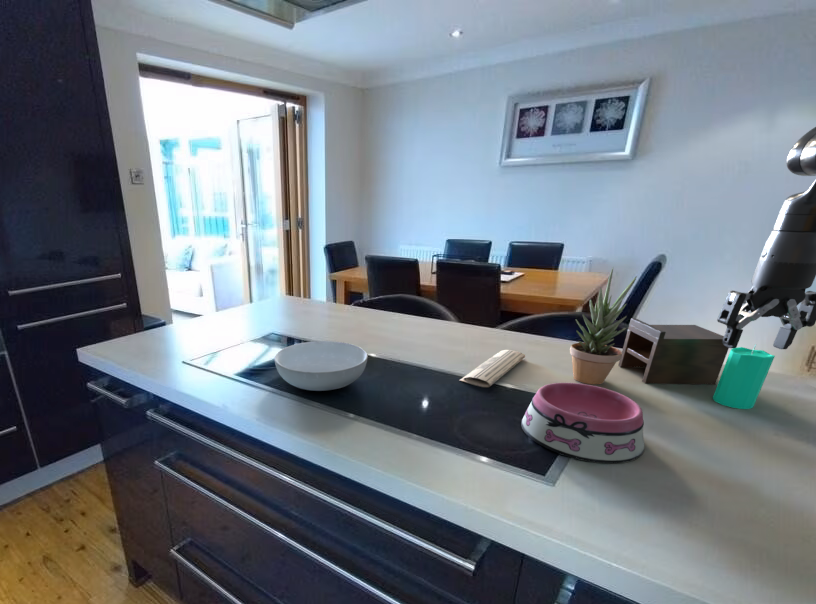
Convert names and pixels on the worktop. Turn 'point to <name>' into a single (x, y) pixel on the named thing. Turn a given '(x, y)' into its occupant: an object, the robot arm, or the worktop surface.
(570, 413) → the dog bowl
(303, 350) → the serving bowl
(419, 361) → the worktop surface
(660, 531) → the worktop surface
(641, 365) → the shelf
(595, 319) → the potted plant
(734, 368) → the candle
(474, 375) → the newspaper
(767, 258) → the robot arm
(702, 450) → the worktop surface
